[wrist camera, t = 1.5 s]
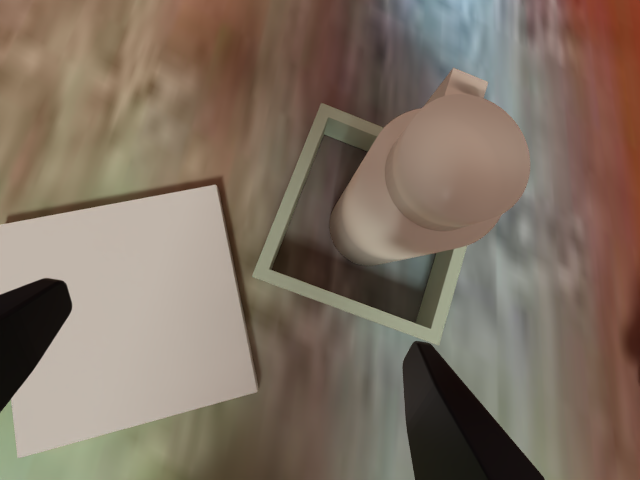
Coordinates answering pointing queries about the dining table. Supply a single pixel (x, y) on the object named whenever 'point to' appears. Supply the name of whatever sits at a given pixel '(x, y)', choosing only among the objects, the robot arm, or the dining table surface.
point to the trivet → (130, 316)
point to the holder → (427, 319)
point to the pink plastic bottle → (433, 178)
